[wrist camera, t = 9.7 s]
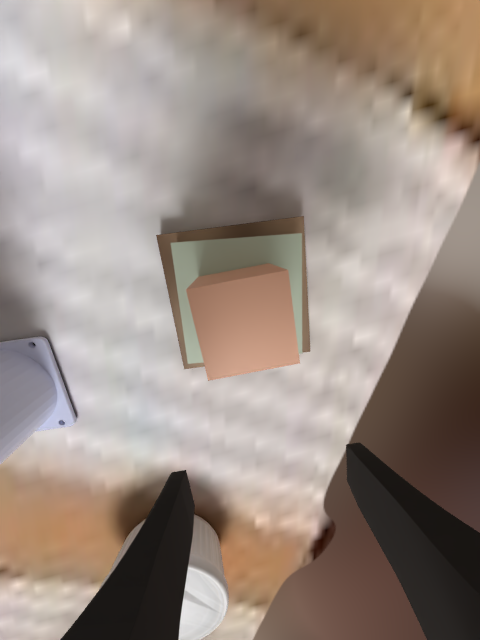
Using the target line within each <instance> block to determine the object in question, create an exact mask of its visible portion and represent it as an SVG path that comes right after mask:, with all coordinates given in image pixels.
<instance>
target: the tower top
mask: <svg viewBox="0 0 480 640" xmlns="http://www.w3.org/2000/svg"><path fill="white" fill-rule="evenodd" d="M171 249H172V256H173V263H174V270H175V277H176V284H177V291H178V298H179V305H180V312H181V319H182V326H183V333H184V340H185V347H186V354H187V361H188V364H192V363H203V362H204V361H203V357H202V353H201V349H200V345H199V341H198V337H197V333H196V329H195V325H194V321H193V317H192V313H191V309H190V305H189V301H188V297H187V293H186V289H187V288H188V287H189V286H190V285H191V284H192V283H193V282H194V281H195V280H196V278H197V277H199V276H204V275H210V274H215V273H220V272H225V271H231V270H236V269H241V268H246V267H252V266H257V265H262V264H267V263H270V264H273V265H276V266H278V267H281V268H284V269H287V270H288V271H289V280H290V288H291V296H292V304H293V312H294V320H295V328H296V336H297V344H298V352H299V354H302V233H297V234H283V235H270V236H256V237H243V238H229V239H215V240H202V241H188V242H175V243H171Z"/></svg>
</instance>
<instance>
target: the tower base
mask: <svg viewBox="0 0 480 640" xmlns="http://www.w3.org/2000/svg"><path fill="white" fill-rule="evenodd" d="M297 233H302V352H310V335H309V316H308V296H307V276H306V256H305V236H304V216H301V217H293V218H285V219H278V220H270V221H262V222H254V223H247V224H239V225H231V226H223V227H216V228H208V229H200V230H192V231H185V232H177V233H169V234H162V235H156V236H157V241H158V246H159V250H160V255H161V260H162V265H163V269H164V274H165V279H166V284H167V289H168V293H169V298H170V303H171V308H172V312H173V317H174V322H175V327H176V332H177V336H178V341H179V346H180V351H181V355H182V360H183V365H184V369H189V368H196V367H203V366H205V365H204V362H203V363H192V364H188V361H187V354H186V347H185V340H184V333H183V326H182V319H181V312H180V305H179V298H178V291H177V284H176V277H175V270H174V263H173V256H172V249H171V243H175V242H188V241H202V240H215V239H229V238H243V237H256V236H270V235H283V234H297Z"/></svg>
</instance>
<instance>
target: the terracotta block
mask: <svg viewBox="0 0 480 640" xmlns="http://www.w3.org/2000/svg"><path fill="white" fill-rule="evenodd" d="M186 293H187V297H188V301H189V305H190V309H191V313H192V317H193V321H194V325H195V329H196V333H197V337H198V341H199V345H200V349H201V353H202V357H203V361H204V365H205V369H206V373H207V377H208V381H209V380H214V379H220V378H225V377H230V376H235V375H240V374H246V373H251V372H256V371H261V370H267V369H272V368H277V367H282V366H288V365H293V364H298V363H300V360H299V352H298V344H297V336H296V328H295V320H294V312H293V304H292V296H291V288H290V280H289V271H288V270H287V269H284V268H281V267H278V266H276V265H273V264H270V263H267V264H262V265H257V266H252V267H246V268H241V269H236V270H231V271H225V272H220V273H215V274H210V275H204V276H199V277H197V278H196V280H195V281H194V282H193V283H192V284H191V285H190V286H189V287H188V288H187V289H186Z"/></svg>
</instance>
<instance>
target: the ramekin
mask: <svg viewBox="0 0 480 640" xmlns="http://www.w3.org/2000/svg"><path fill="white" fill-rule="evenodd" d="M145 520H146V519H145ZM145 520H143V521H142V522H141V523H140V524H138V525H137V526H136V527H135V528H134V529H133V530H132V531H131V532H130V534H129V535H128V536H127V538H126V540H125V542H124V543H123V546H122V548H121V550H120V552H119V554H118V556H117V558H116V560H115V562H114V564H113V566H112V568H111V570H110V572H109V574H108V575H107V576H106V578H105V579H104V581H103V583H102V585H101V587H102V586H103V584H104V583H105V582H106V580H107V579H108V577H109V576H110V575H111V573H112V572H113V570H114V569H115V567H116V566H117V565H118V563H119V562H120V560H121V559H122V557H123V556H124V554H125V553H126V551H127V549H128V548H129V546H130V545H131V543H132V541H133V540H134V538H135V537H136V535H137V534H138V532H139V530H140V529H141V527H142V525H143V524H144V522H145ZM101 587H100V589H101ZM100 589H99V590H100ZM228 598H229V596H228V585H227V581H226V579H225V577H224V569H223V562H222V555H221V548H220V542H219V539H218V536H217V534H216V532H215V531H214V529H213V528H212V527H211V526H210V524H209V523H208V522H207V521H205V520H204V519H203V518H201V517H199V516H197V515H195V514H194V526H193V537H192V544H191V551H190V558H189V564H188V571H187V577H186V584H185V591H184V597H183V604H182V611H181V619H180V628H179V640H200V639H202V638H204V637H206V636H207V635H209V634H210V633H211V632H212V631H213V630H214V629H216V627H217V626H218V625H219V624H220V623H221V622H222V620H223V619H224V617H225V615H226V612H227V608H228Z"/></svg>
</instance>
